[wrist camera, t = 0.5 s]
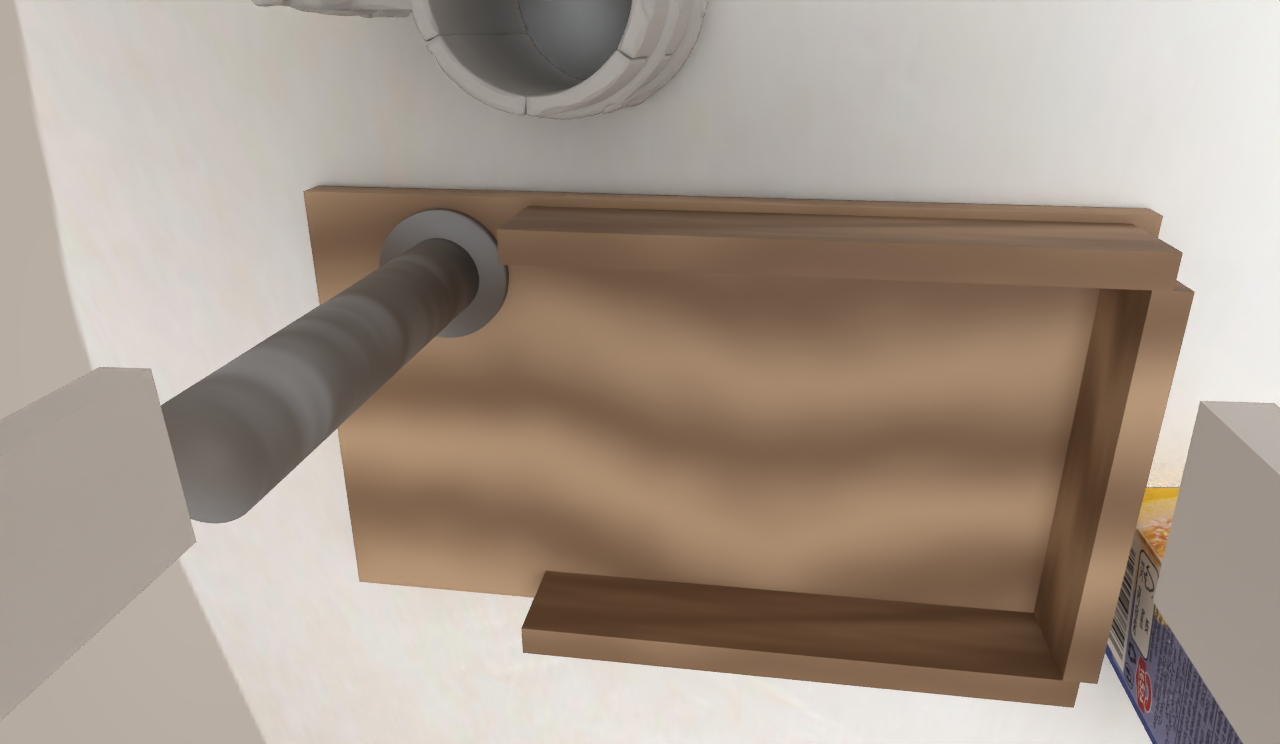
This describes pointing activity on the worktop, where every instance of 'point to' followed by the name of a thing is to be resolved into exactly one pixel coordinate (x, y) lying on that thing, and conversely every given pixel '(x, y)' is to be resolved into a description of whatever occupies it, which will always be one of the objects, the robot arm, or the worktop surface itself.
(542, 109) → the mug
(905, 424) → the wooden tray with post
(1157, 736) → the beverage box
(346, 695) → the worktop surface
